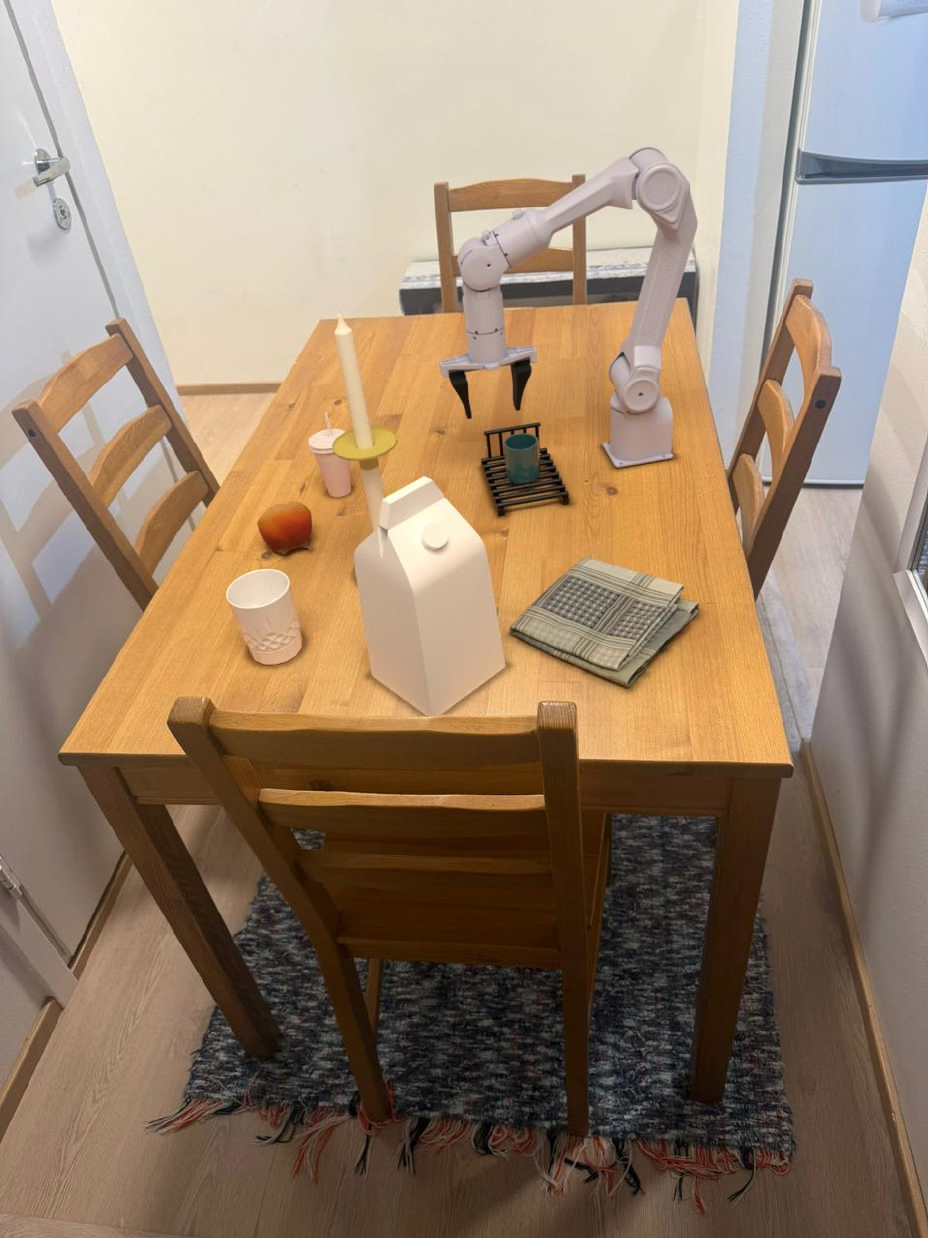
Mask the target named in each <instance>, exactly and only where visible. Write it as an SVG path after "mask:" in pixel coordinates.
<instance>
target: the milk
mask: <svg viewBox="0 0 928 1238" xmlns="http://www.w3.org/2000/svg"><path fill="white" fill-rule="evenodd" d="M488 557H489V556H488V551H487V548H486V545H485V543H484V541H483V539H482V537H480V535H479V533H478V532H477V531H476V530H475V529H474V528H473V527H472V526H471V525H470V523H469V522H468V521H467V520H466V518H465V517H463V516H462V514H461V513H460V512H459V511H458V510H457V509H456V507H454V506H453V504H452V503H451V502H450V501H449V500H448V499H447V498H446V497H445V495H444V494H443V492H442V491H441V490H440V488H439V487H438V486H437V484H436V482H435V481H434V480H433V479H432V478H430V477H427V476H425V475H424V476H423V475H422V477H420V478H417V480H414V481H413V482H411V483H409V484H407V485H405V486H404V487H402V488H400V489H398V490H396V491H395V492H392V493H391V494H389V495H387V496H386V497H385V498H384V499H382V504H381V512H380V519H379V527H378V528H377V529H376V530H375V531H374V532H373V531H372V532H371V533H370V534H369V535H368V536H367V537H366V538H364V540H363V541H362V542H360V544H359V545H357V546H356V547H355V550H354V553H353V565H354V572H355V571H356V576H355V579H356V578H357V580H356V584H357V588H358V589H357V590H358V591H357V592H358V597H359V602H360V610H361V616H362V622H363V629H364V635H365V642H366V649H367V653H368V654H367V655H368V661H369V667H370V674H371V677H372V678H374V679H375V680H376V681H378V682H379V683H381V684H382V685H383V686H384V687H386V688H387V689H388V690H390V691H391V692H393V693H394V694H396V696H398V697H400V698H401V699H403V700H404V701H405V702H407V703H408V704H409V705H411V706H412V707H413V708H415V709H417V710H418V711H419V712H420V713H422V714H423V715H425V716H426V717H427V716H439V717H440V716H442V715H443V714H444V713H446V712H447V711H448V710H449V709H451V708H452V707H453V706H455V705H457V703H459V702H460V701H461V700H463V699H464V698H466V697H467V696H468V695H470V694H471V693H472V692H474V691H476V689H478V688H479V687H481V686H482V685H483V684H484V683H486V682H488V681H489V680H490V679H491V678H493V677H494V676H496V675H497V674H498V673H500V672H501V671H502V670H503V669H505V668H506V667H507V665H506V659H505V652H504V648H503V641H502V635H501V629H500V624H499V616H498V611H497V604H496V599H495V593H494V588H493V587H494V586H493V583H492V575H491V571H490V570H491V568H490V565H489V563H490V562H489V558H488Z"/></svg>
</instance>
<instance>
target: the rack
mask: <svg viewBox="0 0 928 1238" xmlns="http://www.w3.org/2000/svg"><path fill="white" fill-rule="evenodd" d="M541 426H542V425H541V422H540V421H538V422H532V423H526V424H521V425H520V424H519V425H514V426H509V427H508V426H507V427H502V428H496V429H491V430H484V431H483V436H484V437H485V439H486V449H487V457H482V458H480V466H481V467H480V468H481V471H482V474H483V476H484V479H485V482H486V485H487V488H488V491H489V494H490V496H491V499H492V503H493V505H494V508H495V511H496V513H497V516H498V517H503V516H506V511H505V508H509V507H514V506H520V505H527V504H531V503H538V502H544V501H549V500H554V499H559V500H560V502H561V504H562V505H563V506H566V505H569V504H570V493H569V490H566V489H567V487H566V484H563V478H562V477H560V471H557V466H556V465H554V460H553V458H551V454H550V453H548V451H549V450H548V447H541V445H540V444H541V443H540V427H541ZM527 429H529V430H530V429H534V434H535V435H534V436H536V437H537V438H538V440H539V458H540V476H539V477H538V478H537V479H536V480H534V481H533V482H529V483H522V484H520V483H514V482H511V481H509V480H508V479H507V477H506V470H505V458H504V446H503V442H504V439H503V434H505V433H509V432H510V436H511V435H514V434H515V432H517V431H522V433H528V432H527V431H528V430H527ZM492 435H498V447H499V448H498V449H499V455H494V456H493V454H492V444H491V436H492ZM535 481H536V482H535ZM535 488H536V489H535ZM506 493H507V494H506ZM546 493H547V494H546ZM535 495H537V496H535ZM524 497H525V498H524ZM512 499H513V500H512Z"/></svg>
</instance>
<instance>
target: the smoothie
mask: <svg viewBox="0 0 928 1238" xmlns="http://www.w3.org/2000/svg"><path fill="white" fill-rule="evenodd" d="M323 415H324V419H325V424H326V429H323V430H320V431H317V432H316V433H313V435H311V436H310V437H309V439H308V441H307V442H308V447H309V450H310V451H311V452H312V454H313V456H314V459H315V460H316V464H317V466H318V469H319V472H320V474H321V477H322V479H323V482H324V484H325V487H326V489H327V492H328V495H329V496H330V497H333V498H341V497H346V496H347V495H349V494H350V493H351V492H352V481H351V480H352V479H351V467H350V461H349V460H345V459H342V458H339V457H338V456H337V455H336V454H334V453H333V449H332V444H333V442H334V441H335V439H336V438H337V437H339V436H340V435H342V434H343V433H345V432H346V431H345V430H344V429H340V428H332V426H331V421H330V417H329V412H328V411H325V412H324V413H323Z"/></svg>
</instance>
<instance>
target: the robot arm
mask: <svg viewBox="0 0 928 1238" xmlns="http://www.w3.org/2000/svg"><path fill="white" fill-rule="evenodd" d="M633 201H636V203H637V205H638V206H639V207H640V208H641V209H642V210H643V211H644V212H646V213H647V214H648V215H649V217H650V219H652V221H653V222H654V224H655V226H656V229H657V230H656V233H655V237H654V241H653V245H652V249H651V252H650V256H649V259H648V262H647V267H646V270H645V274H644V276H643V277H644V278H643V281H642V284H641V289H640V292H639V296H638V299H637V300H638V301H637V304H636V307H635V310H634V315H633V318H632V321H631V326H630V329H629V332H628V336H627V337H626V338H625V339H624V340H623V341H622V342H621V343H620V344H621V345H620V348H619V351H618V352H617V354H616V356H615V357H614V358H613V359H612V360H611V362H610V364H609V366H608V372H607V373H608V379H609V381H610V383H611V384H612V385H613V387H614V391H613V392H612V393H613V394H612V396H611V397H610V400H609V401H610V421H609V422H610V423H609V424H610V428H609V429H610V430H609V431H610V435H609V436H610V439H609V441H605V442H603V443H602V447H603V449H604V451H605V453H606V454H607V456H608V457H609V459H610V460H611V461H610V462H612V464H613V466H614V467H615V468H616V469H620V468H626V467H631V466H637V465H642V464H648V463H653V462H659V461H665V460H671V459H673V458H674V454H673V453H672V452H673V451H672V449H673V430H674V413H673V407H672V404H671V401H670V400H669V398H668V397H667V396H661V394H662V386H661V380H660V378H661V375H662V371H663V360H662V347H663V344H664V340H665V337H666V335H667V334H666V333H667V330H668V327H669V323H670V321H671V317H672V313H673V310H674V306H675V303H676V301H677V297H678V293H679V291H680V290H679V289H680V287H681V284H682V279H683V276H684V273H685V270H686V267H687V264H688V260H689V256H690V254H691V250H692V247H693V243H694V240H695V236H696V233H697V230H698V224H699V221H698V217H697V214H696V209H695V205H694V201H693V197H692V194H691V182H690V181H689V180H688V179H687V177H686V176H685V175H684V174H683V172H682V170H680V168H679V167H678V166H677V165H676V164H674V162H671V161H670V160H669V159H668V158H667V157H666V156H665V154H664V153H663V152H662V151H661V150H660V149H658V148H656V147H653V146H643V147H640V148H637V149H636V150H634V151H633V152H631V153H630V154H629V155H628V156H627V155H625V156H623V157H620V158H618V159H616V160H615V161H613V162H612V163H610V165H608V166H607V167H606V168H604V169H603V170H602V171H600V172H599V173H597V174H596V175H594V176H592V177H591V178H589V179H588V180H586V181H585V182H583V183H582V184H580V185H579V186H578V187H576V188H574V189H573V190H572V191H570V192H568V193H567V194H565V195H564V196H562V197H561V198H559V199H558V200H556V201H555V202H553V203H552V204H550V205H549V206H547V207H546V208H544V209H543V210H542V209H541V210H540V209H535V208H533V207H528V208H526V209H525V210H523V211H522V209H521V207H518V208H517V209H515V210H514V211H512V212H511V214H512V217H511V218H509V219H508V220H506V221H504V222H503V223H501V224H499V225H498V226H496V227H494V228H493V229H491V230H490V231H489V229H488V228H487V229H485V230H483V231H481V236H479V237H478V236H475V237H471V238H469V239H467V240H466V241H465V242H464V243H463V244H462V245H461V247H460V248H459V251H458V254H457V258H456V262H457V266H458V268H459V274H460V277H461V279H462V284H461V289H462V290H461V291H462V293H463V295H462V307H463V317H464V327H465V335H466V345H467V352H466V353H462V354H460V355H456V356H453V357H451V358H447V359H443V360H439V361H438V363H439V371H440V375H441V378H442V379H446V378H449V382H450V384H451V386H452V388H453V389H454V390H455V393H456V394H457V395H458V397H459V399H460V401H461V403H462V405H463V409H464V413H465V417H466V419H467V420H470V419H471V420H472V419H473V416H472V408H471V403H470V395H469V394H470V393H469V383H468V380H467V375H466V373H470V372H477V371H482V370H484V371H486V372H491V371H497V370H499V369H500V368H501V367H506V366H510V372H511V373H510V374H511V379H512V380H511V382H512V404H513V407H514V410H515V412H518V411H521V407H522V401H523V395H524V392H525V389H526V386H527V384H528V382H529V379H530V378H531V376H532V371H533V369H532V365H531V364H536V363H538V351H537V348H536V346H535V345H525V346H507V337H506V324H505V314H504V313H505V312H504V300H503V293H502V291H501V282H500V281H501V280H502V278H503V275H504V273H505V272H510V271H511V270H512V269H515V268H516V267H519V265H521V264H523V263H525V262H526V261H528V260H530V259H531V258H533V257H535V256H537V255H539V254H540V253H542V252H543V251H545V250H547V249H549V247H550V244H551V241H552V238H553V236H554V234H556V233H558V232H561V231H562V230H564V229H565V228H568V227H569V226H572V225H573V224H576V223H577V222H579V221H581V220H583V219H585V218H587V217H589V216H590V215H592V214H594V213H596V212H598V211H600V210H602V209H603V208H606V207H612V208H618V209H625V210H633V209H634V208H633Z"/></svg>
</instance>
